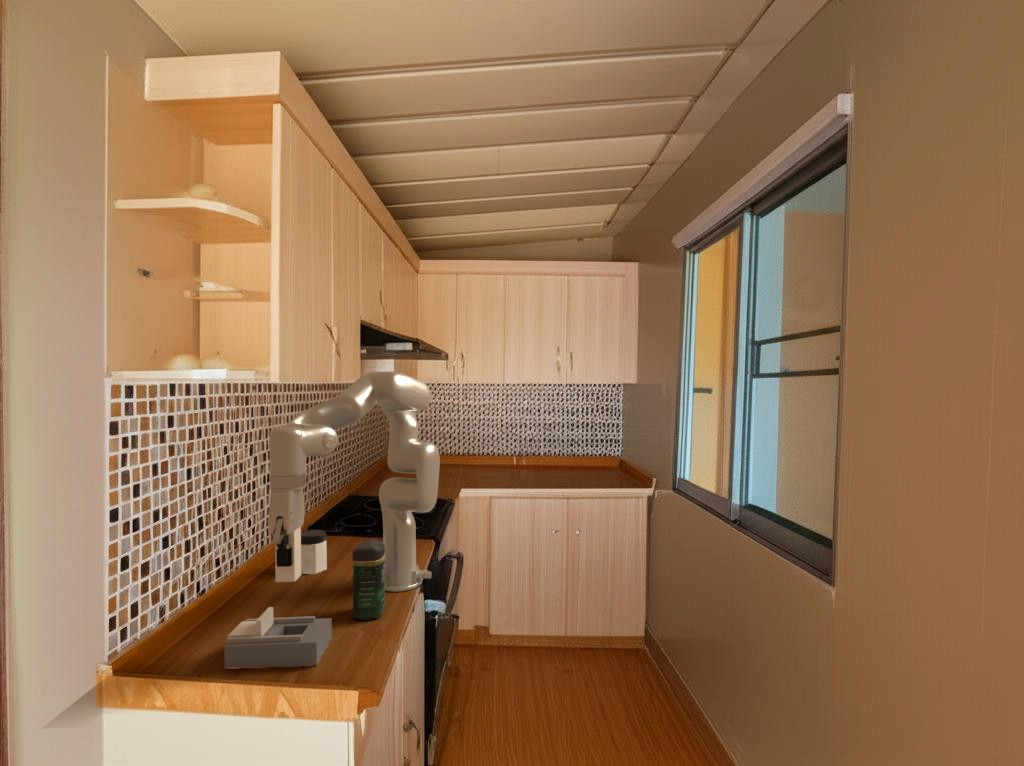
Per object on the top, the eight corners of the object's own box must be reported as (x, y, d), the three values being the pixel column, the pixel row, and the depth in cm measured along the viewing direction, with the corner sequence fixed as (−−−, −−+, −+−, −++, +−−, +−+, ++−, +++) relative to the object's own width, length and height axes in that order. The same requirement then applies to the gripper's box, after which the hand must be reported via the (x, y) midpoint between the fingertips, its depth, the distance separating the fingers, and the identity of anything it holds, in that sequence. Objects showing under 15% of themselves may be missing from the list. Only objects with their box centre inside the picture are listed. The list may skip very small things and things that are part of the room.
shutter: (273, 623, 125) (273, 607, 125) (261, 637, 118) (261, 620, 118) (242, 624, 125) (241, 608, 125) (227, 639, 118) (227, 621, 118)
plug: (301, 575, 127) (300, 512, 127) (294, 581, 122) (294, 517, 123) (282, 575, 127) (282, 513, 127) (275, 582, 122) (274, 517, 122)
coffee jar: (381, 620, 138) (380, 547, 138) (349, 622, 138) (348, 548, 138) (388, 605, 148) (387, 536, 148) (358, 606, 148) (357, 537, 147)
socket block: (331, 639, 129) (331, 613, 129) (316, 665, 117) (316, 637, 117) (248, 642, 127) (248, 617, 127) (224, 669, 115) (224, 641, 115)
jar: (294, 575, 172) (293, 537, 172) (302, 566, 180) (302, 530, 180) (322, 574, 172) (322, 536, 172) (330, 565, 181) (329, 529, 181)
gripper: (285, 476, 133) (285, 551, 133) (255, 489, 116) (256, 575, 116) (316, 475, 133) (317, 551, 133) (291, 488, 116) (291, 575, 116)
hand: (288, 561), depth 124 cm, fingers closed on plug, 4 cm apart
